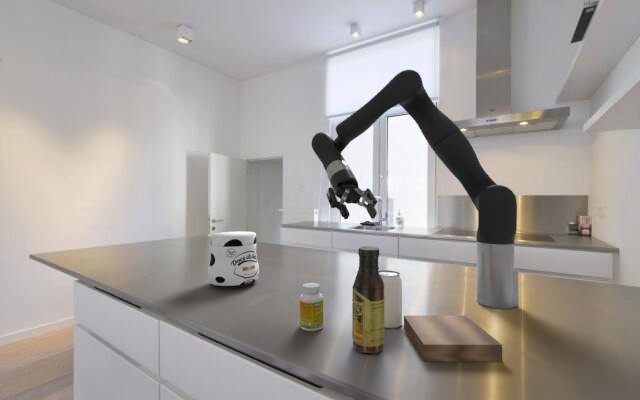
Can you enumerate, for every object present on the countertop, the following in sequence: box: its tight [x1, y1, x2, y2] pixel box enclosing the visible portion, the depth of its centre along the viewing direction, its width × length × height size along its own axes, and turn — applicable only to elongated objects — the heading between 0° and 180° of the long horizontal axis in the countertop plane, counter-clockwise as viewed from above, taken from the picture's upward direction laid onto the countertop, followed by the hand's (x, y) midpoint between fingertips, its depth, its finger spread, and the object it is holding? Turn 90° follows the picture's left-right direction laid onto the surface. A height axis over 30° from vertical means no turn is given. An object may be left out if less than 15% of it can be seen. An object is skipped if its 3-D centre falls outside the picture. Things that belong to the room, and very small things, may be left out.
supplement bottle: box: [299, 282, 324, 332], centre depth 70 cm, size 5×5×10 cm
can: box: [378, 269, 403, 330], centre depth 72 cm, size 6×6×12 cm
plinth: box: [403, 315, 503, 363], centre depth 61 cm, size 14×14×3 cm
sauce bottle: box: [351, 245, 385, 354], centre depth 60 cm, size 7×6×20 cm
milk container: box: [207, 231, 260, 289], centre depth 107 cm, size 17×17×18 cm
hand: (361, 216), depth 82 cm, fingers open, 8 cm apart
